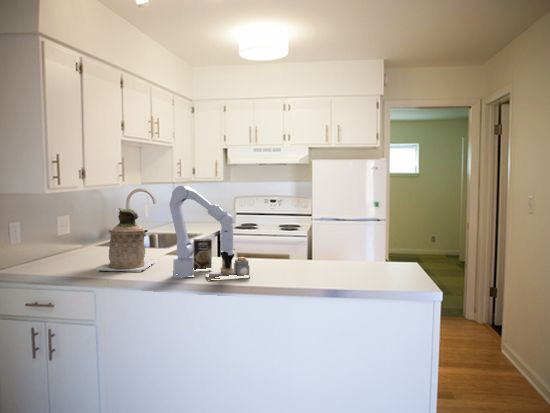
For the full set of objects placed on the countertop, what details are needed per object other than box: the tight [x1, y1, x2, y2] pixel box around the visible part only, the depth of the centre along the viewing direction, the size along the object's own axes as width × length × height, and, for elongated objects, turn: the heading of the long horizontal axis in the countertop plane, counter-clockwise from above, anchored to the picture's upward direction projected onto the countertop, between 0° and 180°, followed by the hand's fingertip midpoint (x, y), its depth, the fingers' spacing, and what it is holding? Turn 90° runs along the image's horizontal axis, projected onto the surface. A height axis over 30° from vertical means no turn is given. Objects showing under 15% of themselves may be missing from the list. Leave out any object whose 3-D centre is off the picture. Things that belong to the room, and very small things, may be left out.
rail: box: [208, 271, 236, 277], centre depth 196 cm, size 13×2×2 cm, turn 109°
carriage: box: [220, 260, 234, 275], centre depth 196 cm, size 5×6×7 cm
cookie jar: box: [95, 207, 157, 273], centre depth 216 cm, size 25×25×32 cm
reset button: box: [237, 256, 246, 261], centre depth 198 cm, size 4×4×2 cm
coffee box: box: [192, 238, 213, 271], centre depth 211 cm, size 9×6×16 cm
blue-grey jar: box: [233, 258, 250, 276], centre depth 198 cm, size 6×8×7 cm, turn 19°
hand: (227, 267), depth 196 cm, fingers closed on carriage, 3 cm apart
